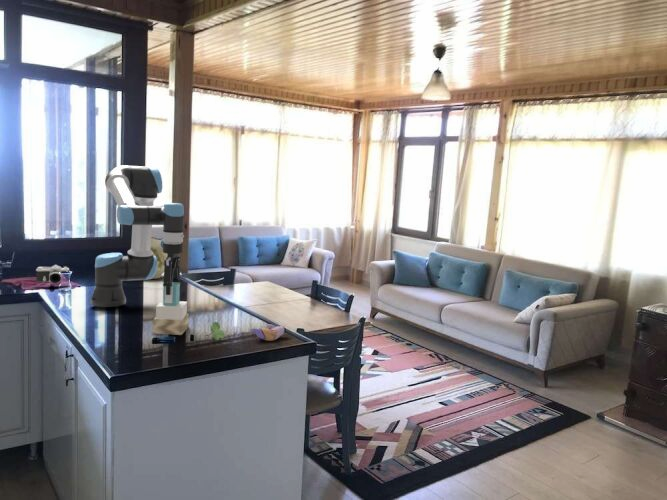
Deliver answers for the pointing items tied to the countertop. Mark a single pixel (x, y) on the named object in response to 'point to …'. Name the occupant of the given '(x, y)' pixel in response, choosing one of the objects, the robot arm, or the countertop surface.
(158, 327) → the tower bottom
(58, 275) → the camera
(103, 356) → the countertop surface
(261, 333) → the toy
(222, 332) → the seedling
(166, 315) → the tower top
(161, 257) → the pitcher
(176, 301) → the teal block
